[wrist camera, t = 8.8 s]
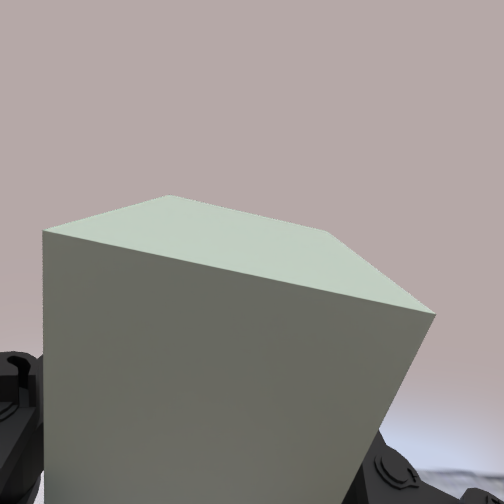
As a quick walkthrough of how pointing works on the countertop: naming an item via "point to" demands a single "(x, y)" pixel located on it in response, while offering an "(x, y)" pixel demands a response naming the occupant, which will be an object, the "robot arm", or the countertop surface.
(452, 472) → the countertop surface
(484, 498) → the robot arm
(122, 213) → the sage block
